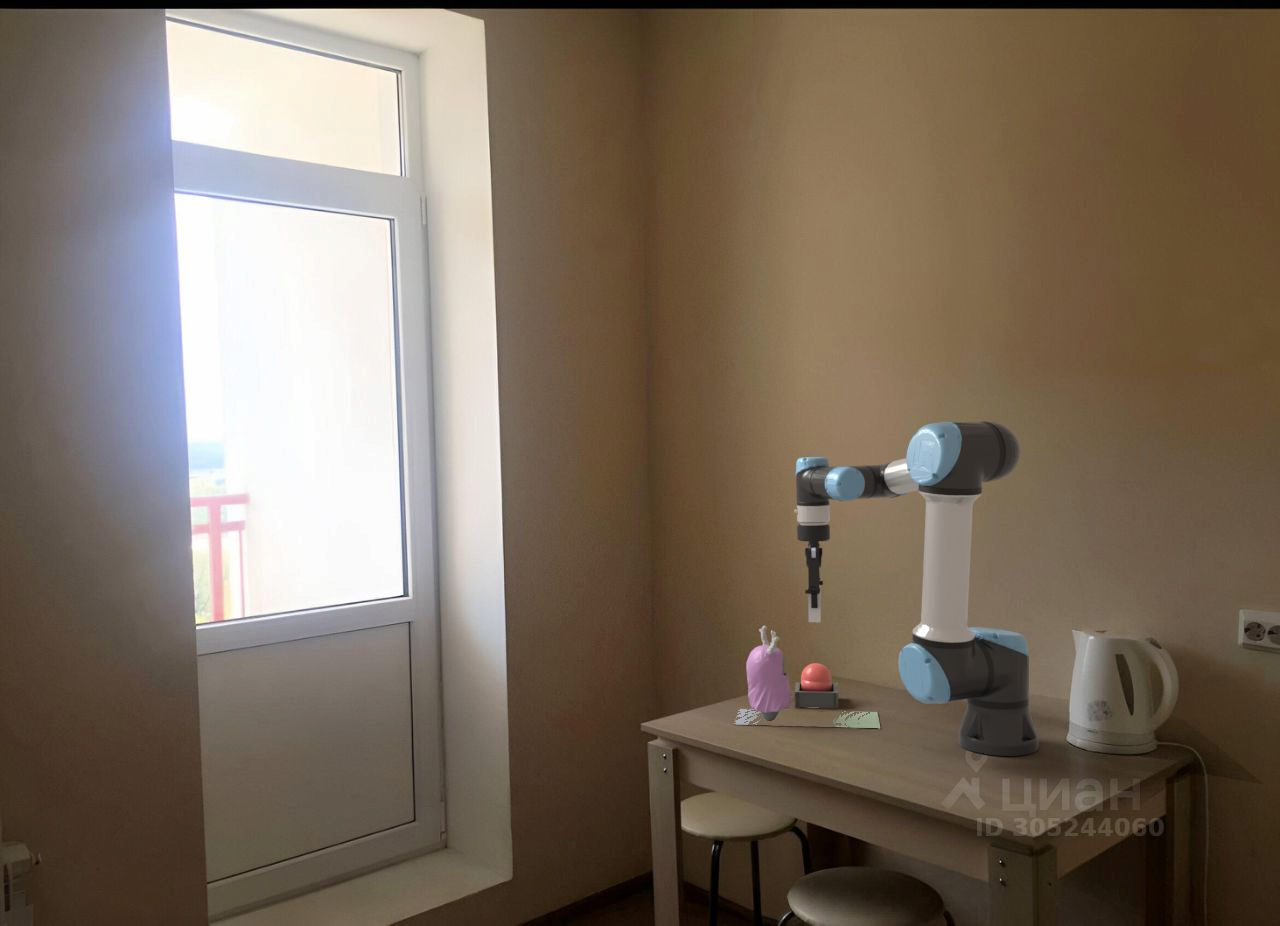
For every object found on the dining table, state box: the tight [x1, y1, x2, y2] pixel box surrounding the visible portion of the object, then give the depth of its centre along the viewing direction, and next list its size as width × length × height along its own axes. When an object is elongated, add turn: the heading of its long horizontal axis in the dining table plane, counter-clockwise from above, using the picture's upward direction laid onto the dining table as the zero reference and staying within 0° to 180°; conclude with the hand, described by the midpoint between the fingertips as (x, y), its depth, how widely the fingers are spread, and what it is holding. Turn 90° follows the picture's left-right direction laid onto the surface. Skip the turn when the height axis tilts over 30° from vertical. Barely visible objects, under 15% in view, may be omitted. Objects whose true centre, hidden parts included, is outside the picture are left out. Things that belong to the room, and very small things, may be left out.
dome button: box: [800, 662, 833, 692], centre depth 246 cm, size 7×7×7 cm
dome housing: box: [794, 681, 839, 709], centre depth 246 cm, size 10×10×4 cm
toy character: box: [745, 625, 794, 721], centre depth 234 cm, size 12×10×20 cm
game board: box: [733, 708, 881, 730], centre depth 233 cm, size 13×31×1 cm, turn 80°
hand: (814, 617), depth 246 cm, fingers open, 11 cm apart
